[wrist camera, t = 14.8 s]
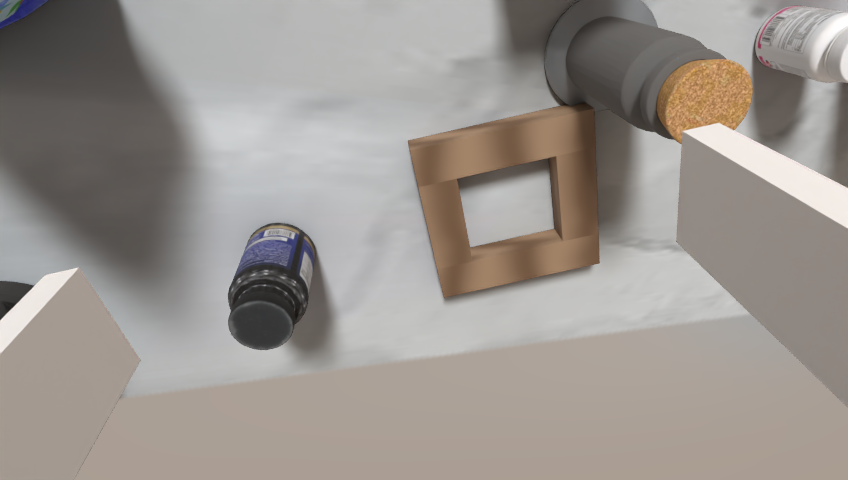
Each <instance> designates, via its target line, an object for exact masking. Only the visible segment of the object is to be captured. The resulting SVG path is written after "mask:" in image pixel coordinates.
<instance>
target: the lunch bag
mask: <svg viewBox="0 0 848 480" xmlns="http://www.w3.org/2000/svg"><path fill="white" fill-rule="evenodd" d="M47 1H49V0H0V29H1V28H3V27H5V26H7V25H10V24H11V23H12V22H16V21H18V20H19V19H22V18H25V17H26V16H27V15H28V14H30V13H32V12H33V11H35V10H36V9H37V8H39V7H40V6H42V5H43V4H44V3H46V2H47Z"/></svg>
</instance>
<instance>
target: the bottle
mask: <svg viewBox="0 0 848 480" xmlns="http://www.w3.org/2000/svg"><path fill="white" fill-rule="evenodd" d="M566 68H567V72H568V75H569V77H570V79H571V81H572V82H573V83H574V84H575V86H577V87H578V88H579V89H580V90H582V91H583V92H585V93H586V94H587V95H589V96H590V97H592V98H593V99H595V100H596V101H598V102H599V103H601V104H602V105H604V106H605V107H606V108H608V109H609V110H611V111H612V112H614V113H615V114H617V115H618V116H620V117H621V118H623V119H624V120H626V121H628V122H629V123H631V124H632V125H634V126H636V127H637V128H640V129H643V130H645V131H650V132H656V133H657V134H659V135H661V136H663V137H665V138H668V139H674V140H676V141H677V142H679V143H680V144H682V131H685V130H689V129H694V128H698V127H703V126H707V125H712V124H716V123H720V124H722V125H724V126H726V127H728V128H730V129H732V130H735V129H736V128H737V126H738V125H739V124H740V123H741V122H742V120H743V119H744V117H745V115H746V114H747V112H748V109H749V107H750V104H751V100H752V93H753V88H752V81H751V79H750V76H749V74H748V72H747V71H746V70H745V69H744V68H743V67H742V66H741V65H740V64H738V63H736V62H734V61H731V60H727V59H726V58H725V57H724V56H722V55H721V54H719V53H717V52H715V51H712V50H710V49H707V48H706V47H705V46H704V45H703V44H702V43H701V42H699V41H698V40H696V39H694V38H691V37H689V36H685V35H682V34H679V33H675V32H672V31H668V30H664V29H661V28H657V27H654V26H650V25H646V24H642V23H638V22H635V21H631V20H627V19H623V18H619V17H613V16H605V17H600V18H597V19H594V20H592V21H590V22H588V23H587V24H585V25H584V26H583V27H582V28H581V29H580V30H579V31H578V32H577V33H576V34H575V36H574V37H573V39H572V40H571V43H570V45H569V47H568V50H567V55H566Z"/></svg>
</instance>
